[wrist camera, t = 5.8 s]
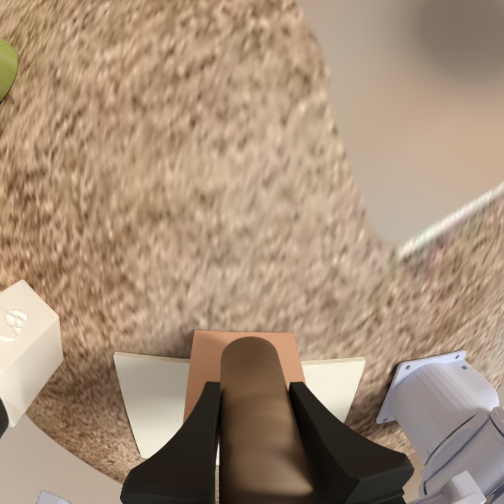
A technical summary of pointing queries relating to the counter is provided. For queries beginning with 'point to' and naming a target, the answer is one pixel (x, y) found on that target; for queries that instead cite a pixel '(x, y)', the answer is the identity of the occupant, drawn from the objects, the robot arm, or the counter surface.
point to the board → (175, 385)
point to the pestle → (259, 430)
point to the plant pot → (7, 67)
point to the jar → (25, 350)
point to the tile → (210, 351)
